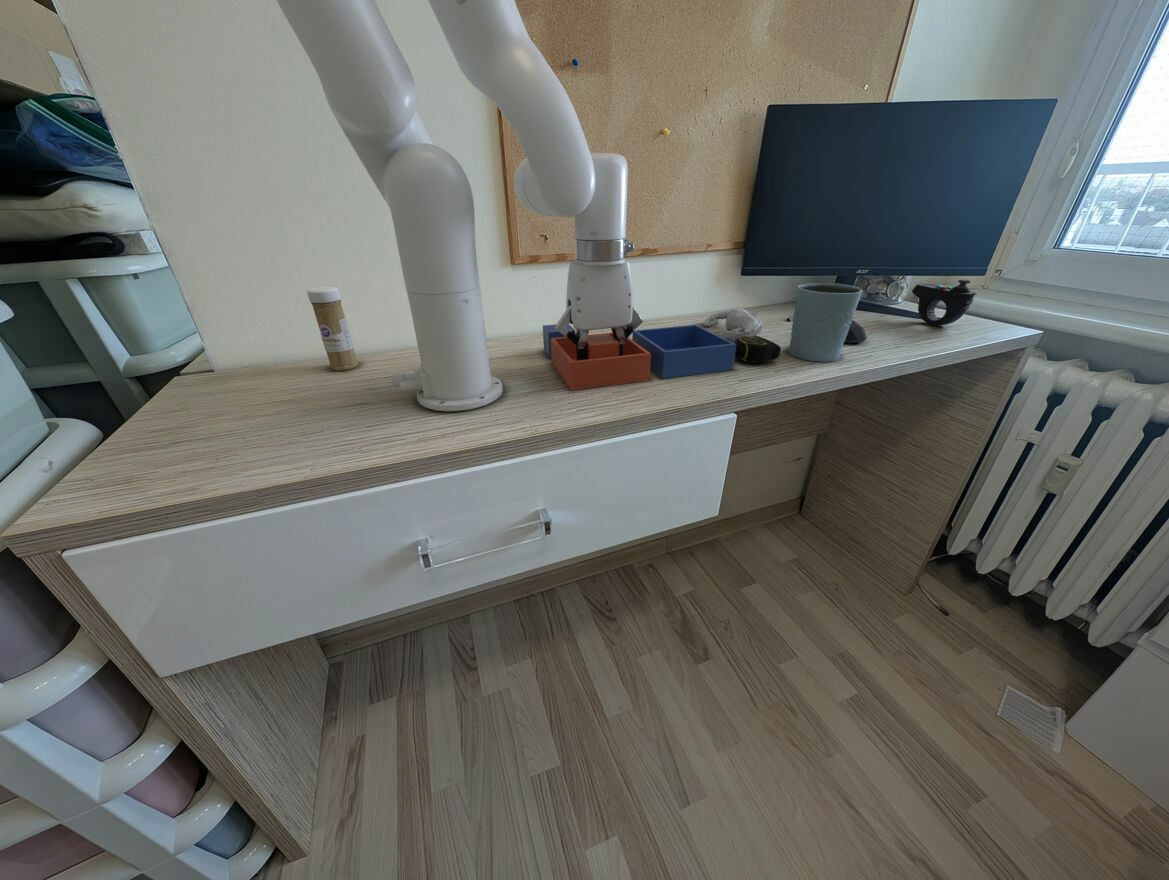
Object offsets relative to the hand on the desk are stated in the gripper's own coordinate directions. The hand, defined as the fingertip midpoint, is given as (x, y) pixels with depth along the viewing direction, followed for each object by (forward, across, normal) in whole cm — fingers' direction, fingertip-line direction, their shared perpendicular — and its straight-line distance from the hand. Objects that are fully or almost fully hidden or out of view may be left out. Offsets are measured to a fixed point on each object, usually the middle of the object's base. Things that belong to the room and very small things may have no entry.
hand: (599, 366), depth 74 cm
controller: (+2, -82, -5) cm, 82 cm away
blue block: (+1, +4, -11) cm, 12 cm away
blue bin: (+1, -15, 0) cm, 15 cm away
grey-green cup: (+1, -41, +4) cm, 41 cm away
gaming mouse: (+1, -54, -5) cm, 54 cm away
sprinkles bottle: (+1, +42, -16) cm, 45 cm away
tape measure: (+1, -29, +3) cm, 29 cm away
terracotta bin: (+1, 0, 0) cm, 1 cm away
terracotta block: (0, 0, 0) cm, 0 cm away
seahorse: (+1, -34, -12) cm, 36 cm away
